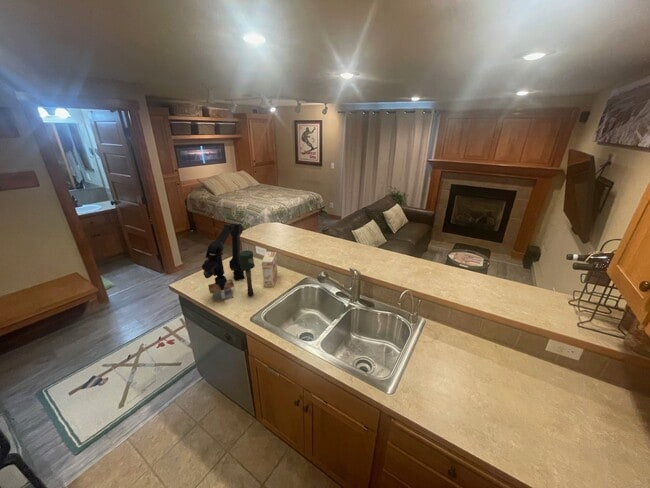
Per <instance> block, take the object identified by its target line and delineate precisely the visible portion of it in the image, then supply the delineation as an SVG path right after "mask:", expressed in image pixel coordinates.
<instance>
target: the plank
mask: <svg viewBox="0 0 650 488" xmlns="http://www.w3.org/2000/svg"><path fill="white" fill-rule="evenodd" d="M226 281H227V282H226V283H225V286H224V289H223V290H225V289H229V288H231V289H232V288H234V287H235V285H234V280H233V279H232V278H229V279H226ZM208 291H209V293H210V294H213V293H215V292H218V291H222V290H221V289H220V286H219V285H218V284H215V282H214V283H210V284H208Z"/></svg>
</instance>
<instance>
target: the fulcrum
mask: <svg viewBox="0 0 650 488" xmlns="http://www.w3.org/2000/svg"><path fill="white" fill-rule="evenodd" d="M212 295H213V302H214V303H217V302H220V301H225V300H229V299H234V295H233V292H232V288H229V289H225V290H222V291H218V292H215V293H212Z"/></svg>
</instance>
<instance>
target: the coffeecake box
mask: <svg viewBox="0 0 650 488" xmlns="http://www.w3.org/2000/svg"><path fill="white" fill-rule="evenodd" d="M261 267H262V268H261V269H262V279H263V282H262V283H263V288H275V285H276V282H277V279H278V277H279V276H278V275H279V274H278V260H277V251H266V253H265V254H264V257H263V258H262V260H261Z"/></svg>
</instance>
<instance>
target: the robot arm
mask: <svg viewBox="0 0 650 488" xmlns="http://www.w3.org/2000/svg"><path fill="white" fill-rule="evenodd" d="M243 230H244V226H243V224H241V223H233V222H231V223H230V224H229V223H228V224H224V225H223V229H222V230H221V231H220V233H219V234H218V236H217V238H216V240H214V241H212V242H210V244H209V245H208V246H207V249H206V253H205V259H206V260H204V261H203V264H202V266H201V269H202V270H203V276H204V278H205V279H207V280H208V279H209V278H212V277H213V276H214V277H215V278H214V283H215V284H218V285H219V286H220V289H221V290H223V289H224V286H225V283H226V282H227V281H226V280H227V277H226V275H224V274H225V269H224V263H223V262H224V261H223V255H224V252H223V251H224V249H225V248H224V245H225V243H226V241H227V239H228V238H229V236H231V249H232V252H231V253H232V254H231V255H232V257H231V259H230V260H229V261H228V262H229V265H228V266H229V269H230V271H232V274H233V279H234V280H235V281H240V280H243V279H244V280H245V277H246V276H245V270H243V269H241V268H240V257H239V253H240V252H241V236H242V234H243Z"/></svg>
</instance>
